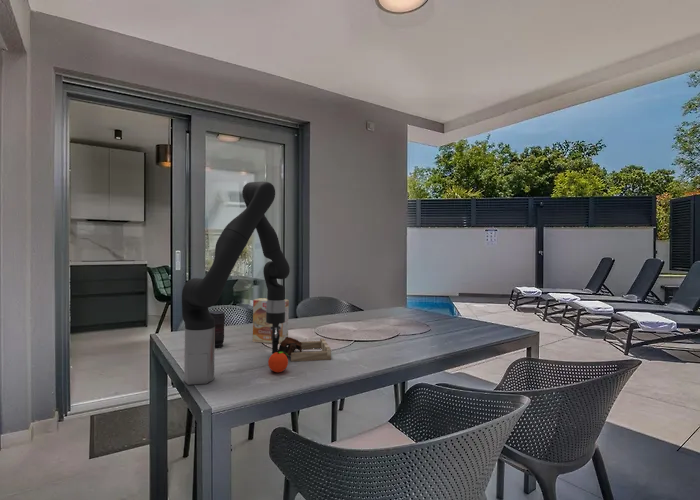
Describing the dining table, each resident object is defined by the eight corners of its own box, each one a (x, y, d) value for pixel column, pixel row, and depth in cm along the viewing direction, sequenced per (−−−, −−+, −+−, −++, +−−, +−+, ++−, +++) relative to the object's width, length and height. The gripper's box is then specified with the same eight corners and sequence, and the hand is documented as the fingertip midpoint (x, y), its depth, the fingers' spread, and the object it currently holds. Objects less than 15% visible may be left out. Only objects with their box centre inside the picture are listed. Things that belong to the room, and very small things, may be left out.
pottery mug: (273, 354, 159) (281, 335, 162) (293, 363, 161) (301, 344, 165) (279, 354, 148) (288, 334, 152) (301, 364, 151) (309, 343, 154)
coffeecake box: (252, 342, 178) (252, 299, 177) (259, 338, 184) (259, 297, 184) (282, 344, 174) (283, 301, 174) (288, 340, 181) (289, 299, 181)
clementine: (281, 366, 142) (281, 347, 142) (294, 370, 138) (294, 351, 138) (263, 372, 136) (264, 351, 136) (276, 376, 132) (277, 355, 131)
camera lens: (218, 349, 164) (218, 314, 164) (201, 348, 166) (201, 313, 166) (228, 344, 172) (228, 311, 172) (211, 343, 174) (211, 310, 174)
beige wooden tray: (330, 359, 152) (331, 349, 152) (291, 361, 149) (291, 351, 149) (323, 347, 170) (323, 338, 170) (287, 349, 166) (288, 339, 166)
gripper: (286, 313, 151) (285, 357, 151) (284, 308, 163) (283, 349, 164) (266, 313, 149) (265, 358, 149) (265, 308, 162) (265, 349, 162)
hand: (274, 353), depth 156 cm, fingers closed
